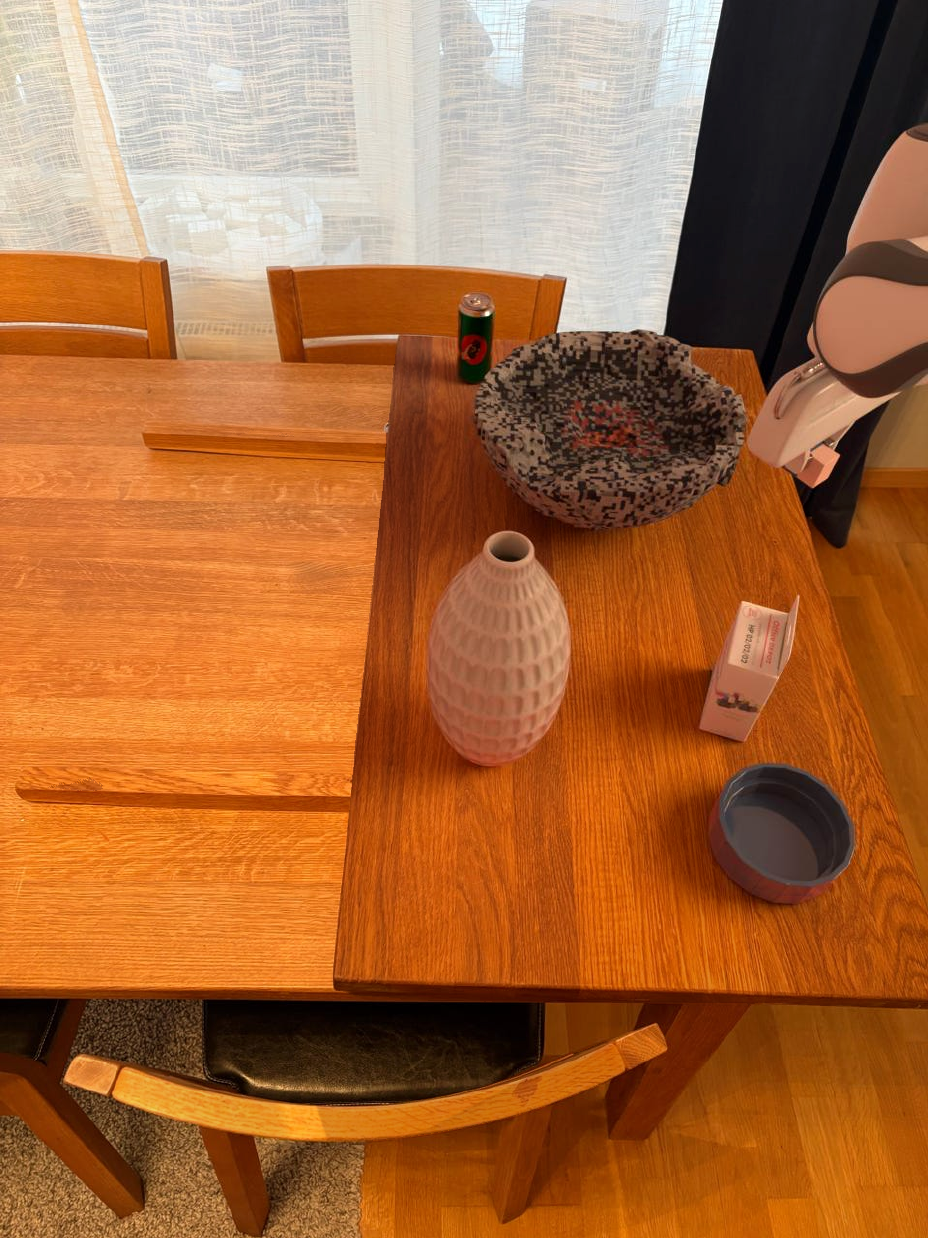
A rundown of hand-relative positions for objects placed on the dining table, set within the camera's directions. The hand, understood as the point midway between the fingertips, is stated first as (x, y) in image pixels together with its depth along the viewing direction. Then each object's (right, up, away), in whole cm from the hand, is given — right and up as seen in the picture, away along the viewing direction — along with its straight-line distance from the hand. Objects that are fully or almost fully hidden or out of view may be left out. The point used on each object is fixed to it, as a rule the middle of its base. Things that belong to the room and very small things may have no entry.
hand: (808, 459), depth 82 cm
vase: (-30, -28, +5) cm, 41 cm away
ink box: (-5, -24, +8) cm, 26 cm away
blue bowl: (-4, -36, -2) cm, 37 cm away
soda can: (-32, +20, +44) cm, 58 cm away
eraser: (0, -1, +1) cm, 1 cm away
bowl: (-16, +1, +29) cm, 33 cm away
